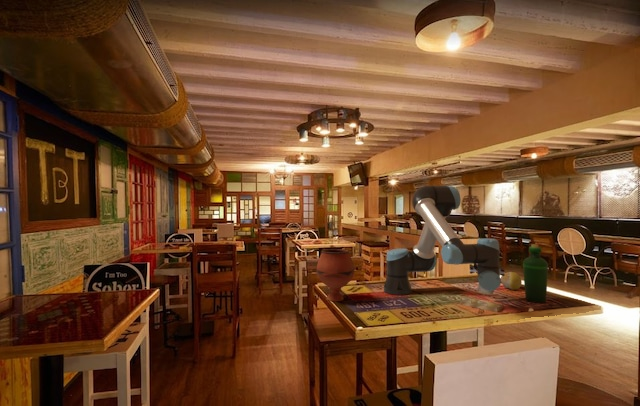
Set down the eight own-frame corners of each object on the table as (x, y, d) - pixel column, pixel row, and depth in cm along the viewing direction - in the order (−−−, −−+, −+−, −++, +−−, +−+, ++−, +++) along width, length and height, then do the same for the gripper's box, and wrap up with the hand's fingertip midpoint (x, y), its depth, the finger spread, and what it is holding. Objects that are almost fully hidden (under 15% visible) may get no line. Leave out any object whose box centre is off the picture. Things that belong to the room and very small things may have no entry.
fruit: (512, 286, 185) (511, 269, 185) (526, 291, 174) (526, 273, 174) (496, 287, 183) (496, 270, 184) (509, 292, 173) (509, 274, 173)
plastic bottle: (497, 295, 144) (496, 252, 145) (484, 296, 143) (483, 252, 144) (487, 291, 151) (487, 250, 151) (475, 292, 150) (474, 250, 150)
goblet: (362, 300, 157) (361, 251, 157) (329, 307, 147) (329, 253, 148) (340, 292, 173) (340, 247, 174) (310, 297, 164) (309, 249, 164)
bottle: (546, 299, 159) (545, 244, 160) (551, 305, 150) (550, 246, 150) (521, 296, 164) (520, 243, 164) (524, 302, 154) (524, 245, 155)
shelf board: (460, 304, 151) (460, 297, 151) (467, 300, 157) (467, 293, 157) (496, 312, 139) (496, 304, 139) (503, 307, 146) (503, 300, 146)
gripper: (462, 281, 135) (463, 271, 156) (514, 285, 127) (508, 275, 148) (462, 263, 135) (463, 256, 156) (514, 267, 127) (508, 259, 148)
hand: (485, 265), depth 152 cm, fingers closed on plastic bottle, 6 cm apart
